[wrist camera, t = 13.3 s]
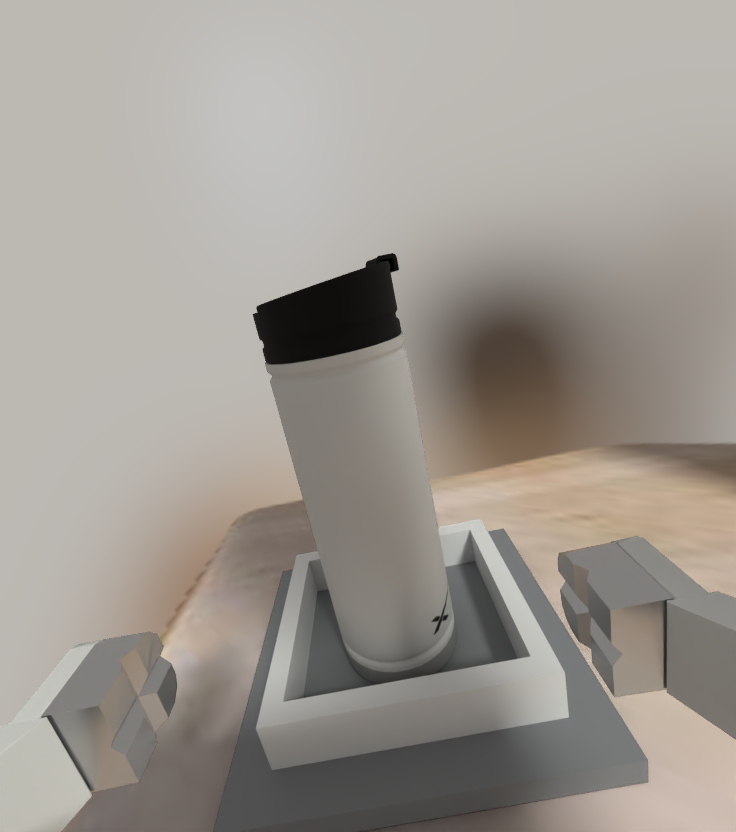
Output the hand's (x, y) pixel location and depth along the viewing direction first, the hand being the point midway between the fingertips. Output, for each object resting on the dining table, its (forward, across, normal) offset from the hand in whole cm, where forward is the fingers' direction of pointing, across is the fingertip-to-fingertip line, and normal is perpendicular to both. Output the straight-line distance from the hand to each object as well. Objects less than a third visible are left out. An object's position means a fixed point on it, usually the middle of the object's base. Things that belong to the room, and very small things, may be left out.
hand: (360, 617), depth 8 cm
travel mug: (+12, 0, +13) cm, 17 cm away
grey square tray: (+12, 0, +14) cm, 18 cm away
